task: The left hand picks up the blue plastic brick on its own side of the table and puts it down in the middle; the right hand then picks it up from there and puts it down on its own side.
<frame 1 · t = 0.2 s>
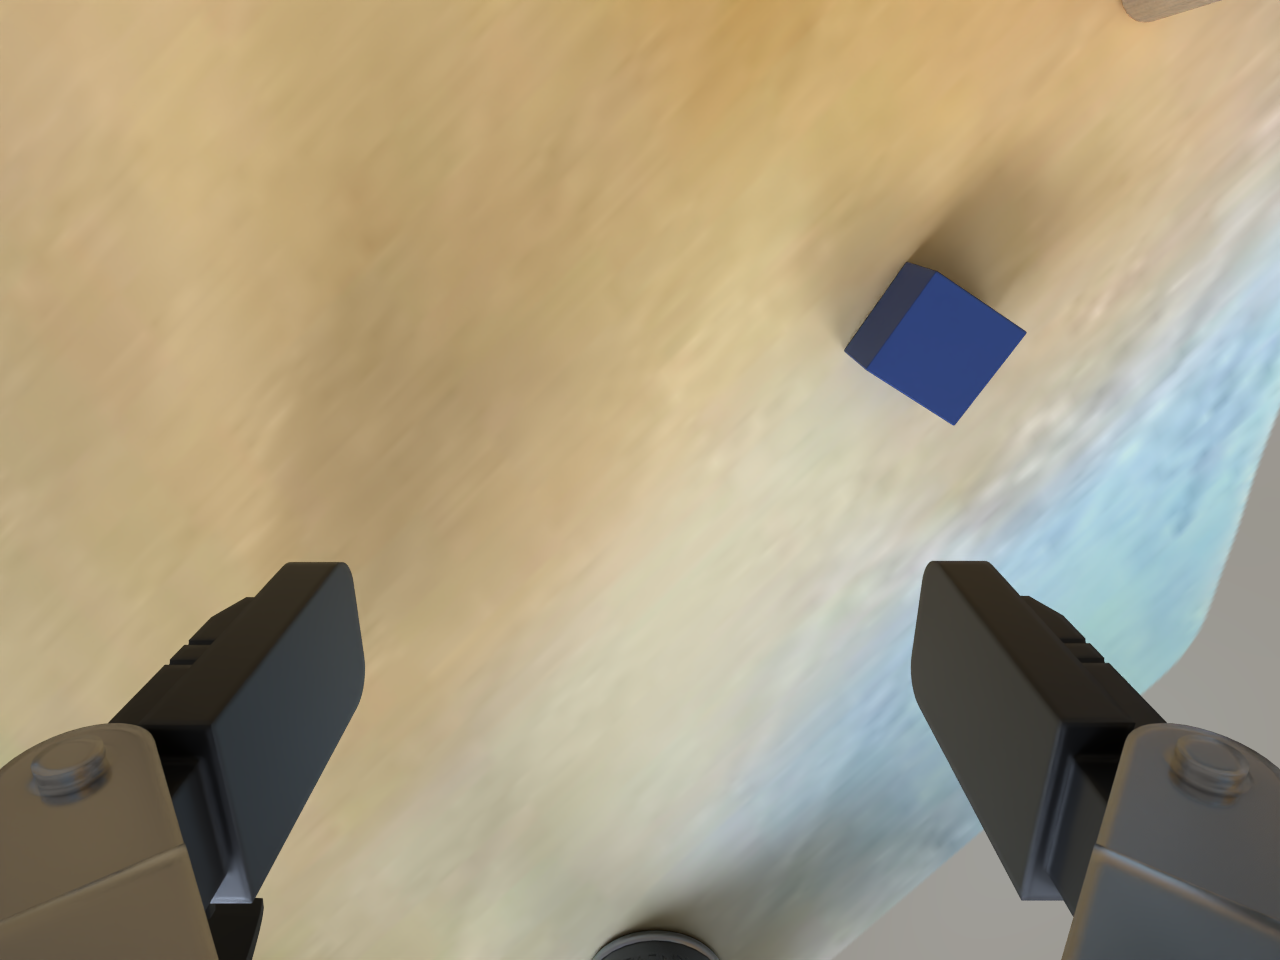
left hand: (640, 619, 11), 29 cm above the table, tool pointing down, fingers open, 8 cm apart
brick: (915, 334, 38), on the table
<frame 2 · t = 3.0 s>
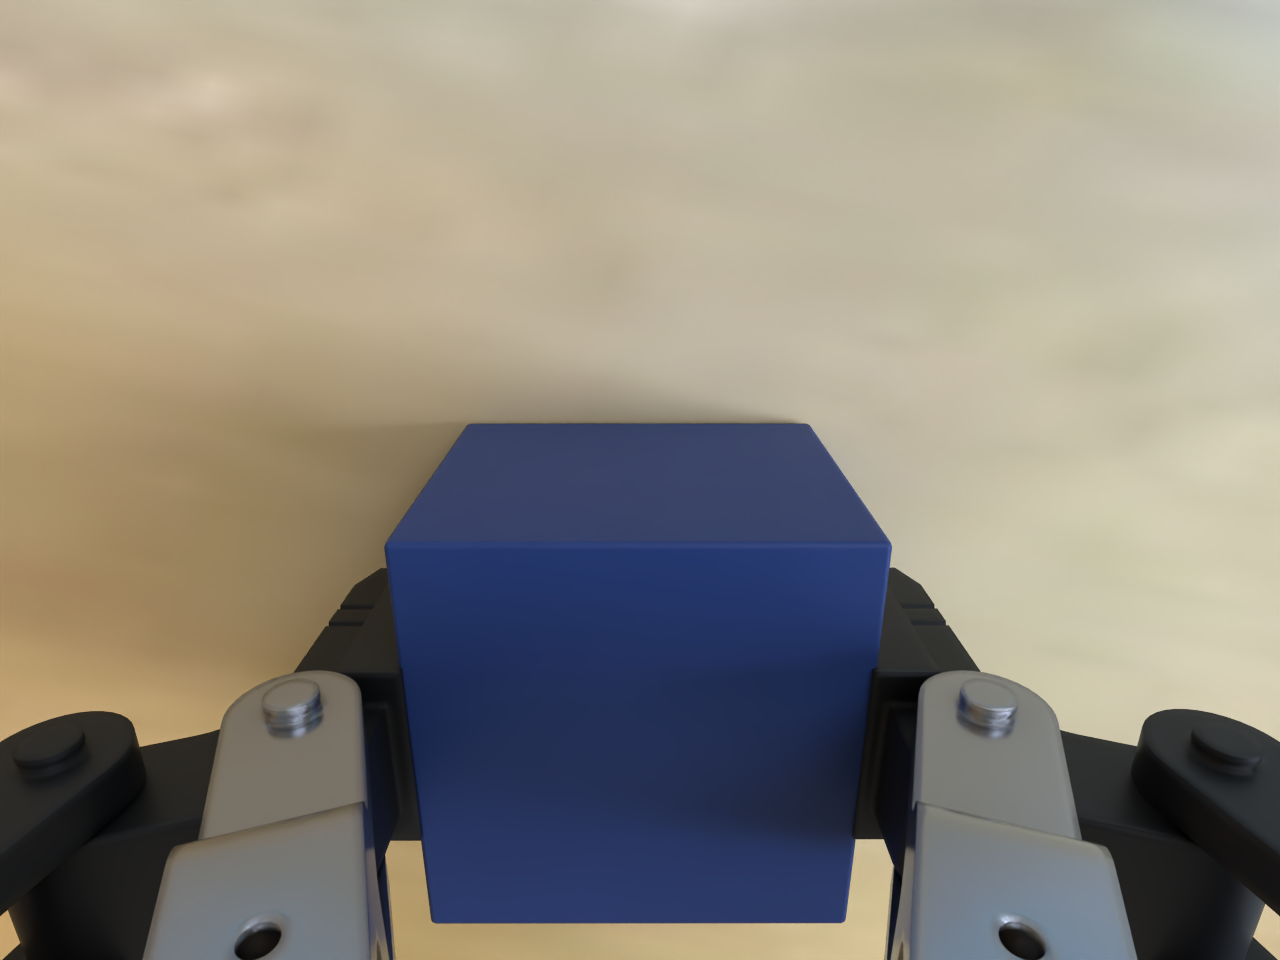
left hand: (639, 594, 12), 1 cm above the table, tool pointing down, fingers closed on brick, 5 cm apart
brick: (638, 577, 12), on the table, touching left hand
when the left hand's fingers open (1 cm above the table, at t = 10.1 s): brick stays where it is, on the table.
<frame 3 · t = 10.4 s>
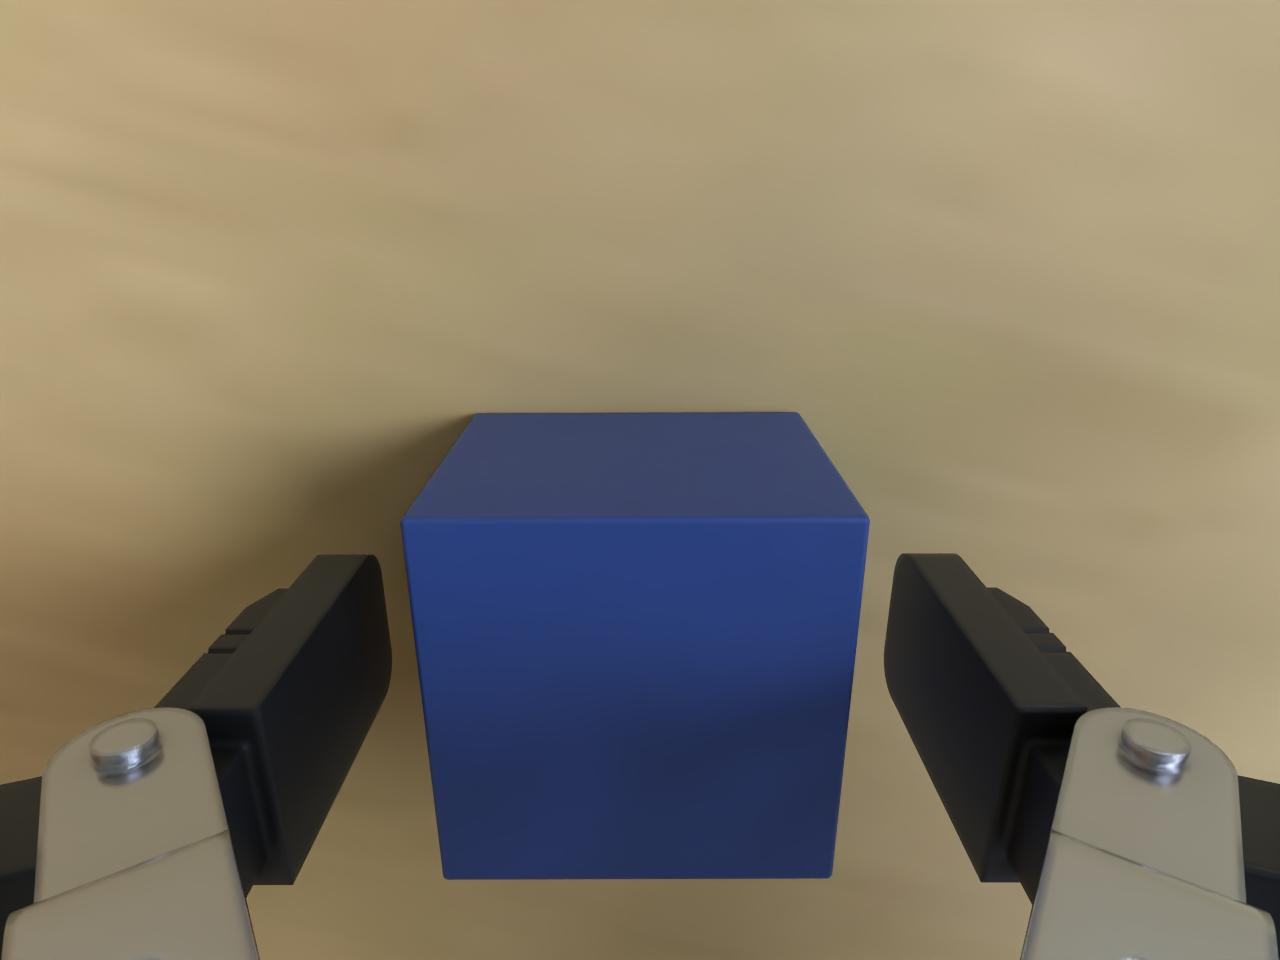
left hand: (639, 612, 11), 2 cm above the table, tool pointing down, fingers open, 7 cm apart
brick: (637, 559, 13), on the table
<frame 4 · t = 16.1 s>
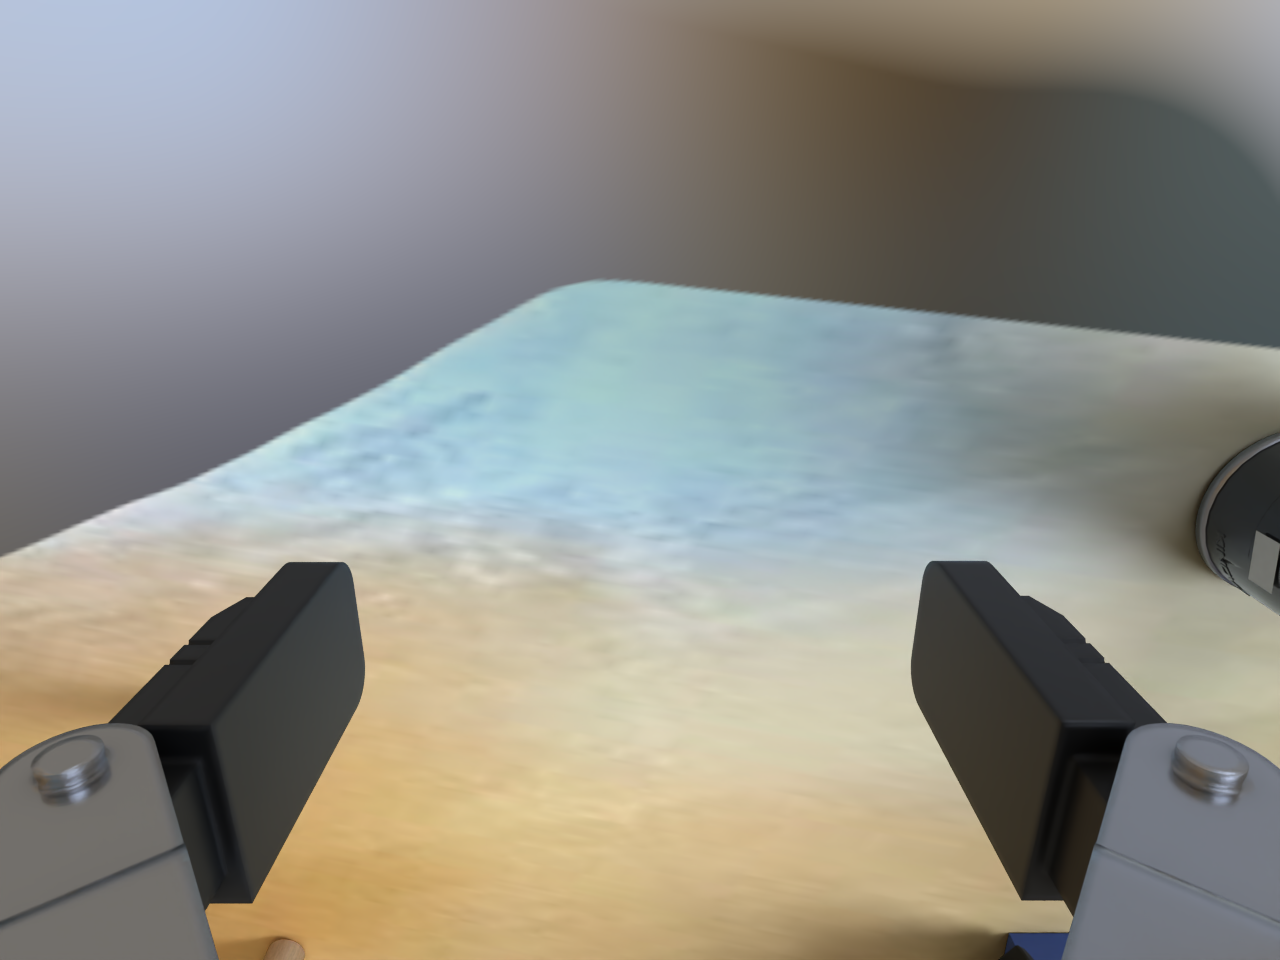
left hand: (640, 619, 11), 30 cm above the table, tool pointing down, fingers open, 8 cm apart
planter: (101, 844, 51), on the table
brick: (1038, 959, 55), on the table, touching right hand
when the right hand's fingers open (2 cm above the table, at t = 22.2 s): brick stays where it is, on the table.
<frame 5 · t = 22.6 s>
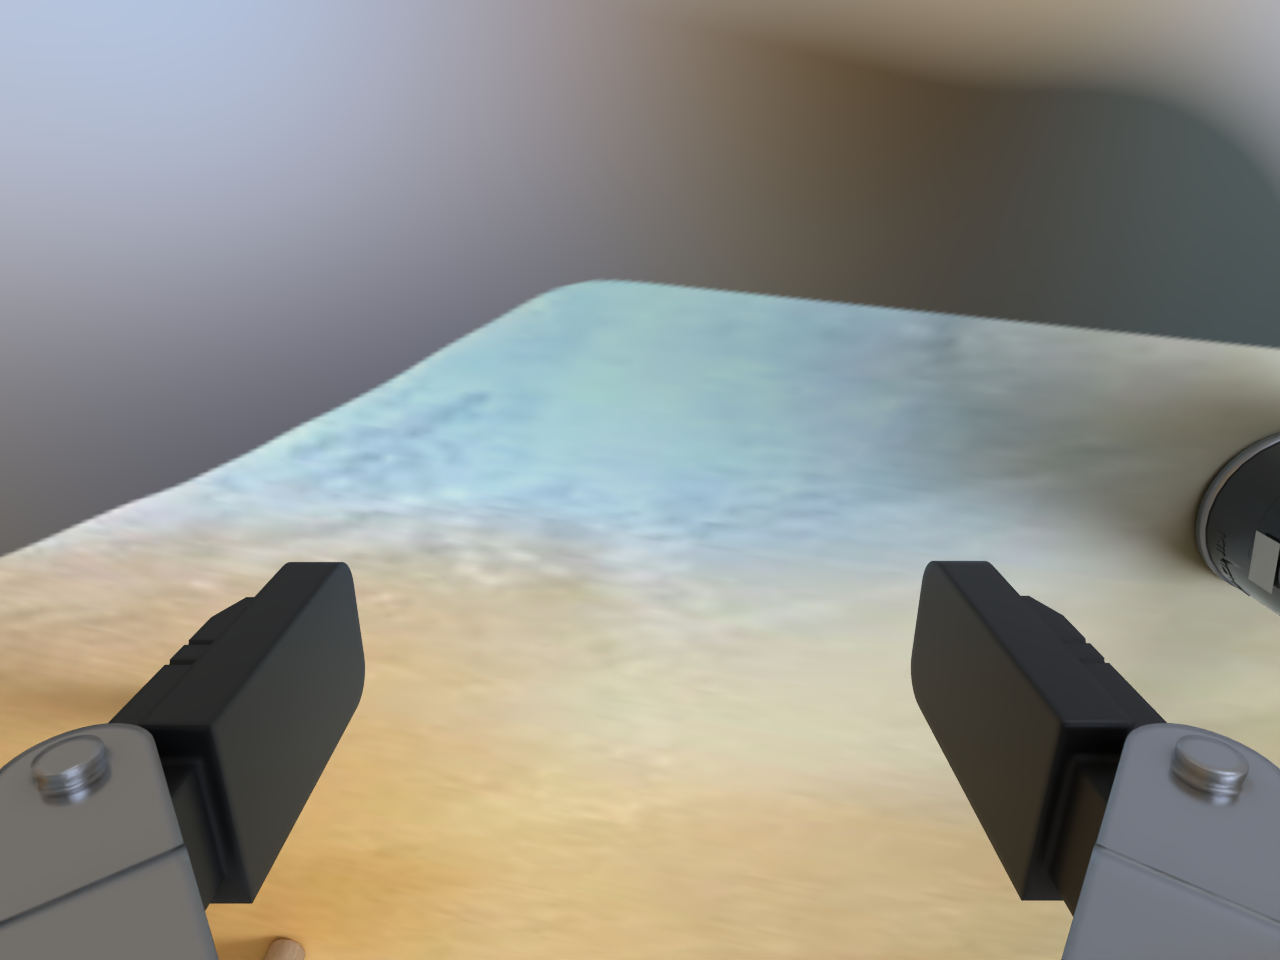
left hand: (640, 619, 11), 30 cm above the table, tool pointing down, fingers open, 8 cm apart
planter: (101, 844, 51), on the table
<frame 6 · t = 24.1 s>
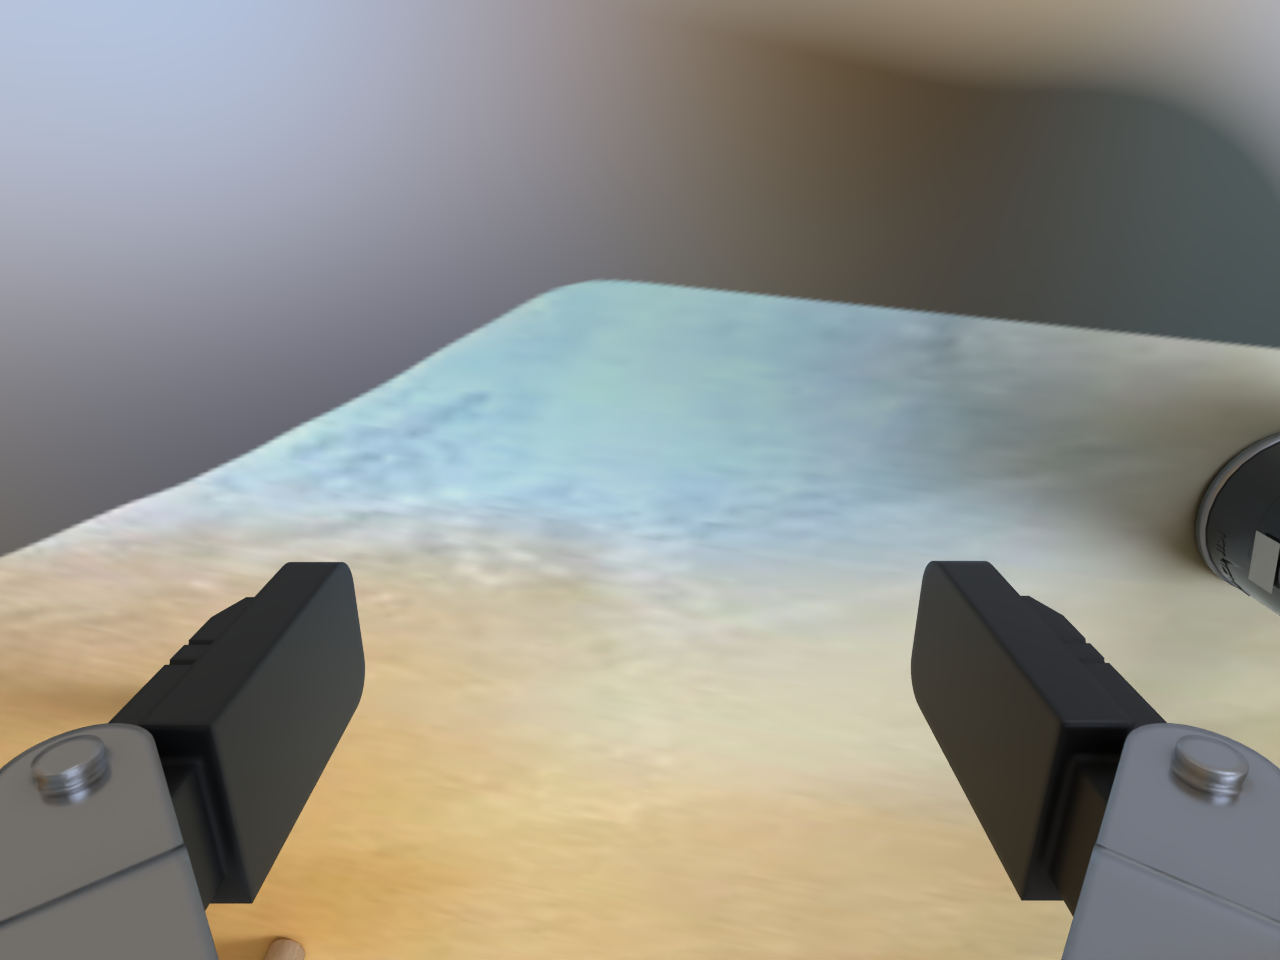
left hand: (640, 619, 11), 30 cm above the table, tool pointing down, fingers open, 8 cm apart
planter: (101, 844, 51), on the table
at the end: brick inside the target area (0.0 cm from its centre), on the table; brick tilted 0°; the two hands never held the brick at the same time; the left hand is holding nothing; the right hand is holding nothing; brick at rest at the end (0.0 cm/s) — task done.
